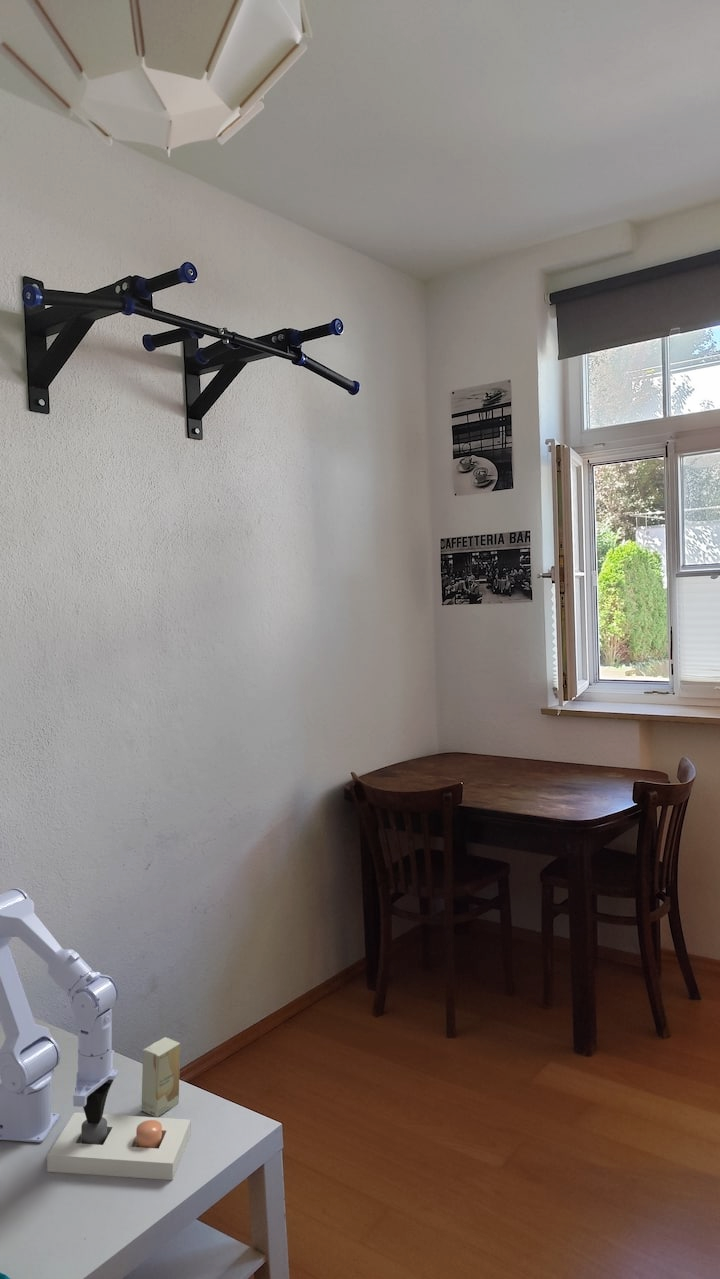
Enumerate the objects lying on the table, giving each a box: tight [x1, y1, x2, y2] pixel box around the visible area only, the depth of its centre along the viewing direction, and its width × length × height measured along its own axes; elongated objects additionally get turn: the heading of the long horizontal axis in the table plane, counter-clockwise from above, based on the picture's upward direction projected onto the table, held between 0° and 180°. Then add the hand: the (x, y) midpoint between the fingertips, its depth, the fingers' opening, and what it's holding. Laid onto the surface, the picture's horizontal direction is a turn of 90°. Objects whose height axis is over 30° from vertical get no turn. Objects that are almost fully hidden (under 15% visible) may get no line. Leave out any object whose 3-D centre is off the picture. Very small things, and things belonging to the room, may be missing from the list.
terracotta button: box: [136, 1120, 162, 1149], centre depth 153 cm, size 4×4×3 cm
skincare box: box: [141, 1036, 181, 1118], centre depth 167 cm, size 6×4×12 cm
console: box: [46, 1111, 192, 1181], centre depth 153 cm, size 22×12×3 cm, turn 87°
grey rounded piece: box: [81, 1117, 107, 1145], centre depth 153 cm, size 4×4×3 cm
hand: (94, 1121), depth 153 cm, fingers closed
